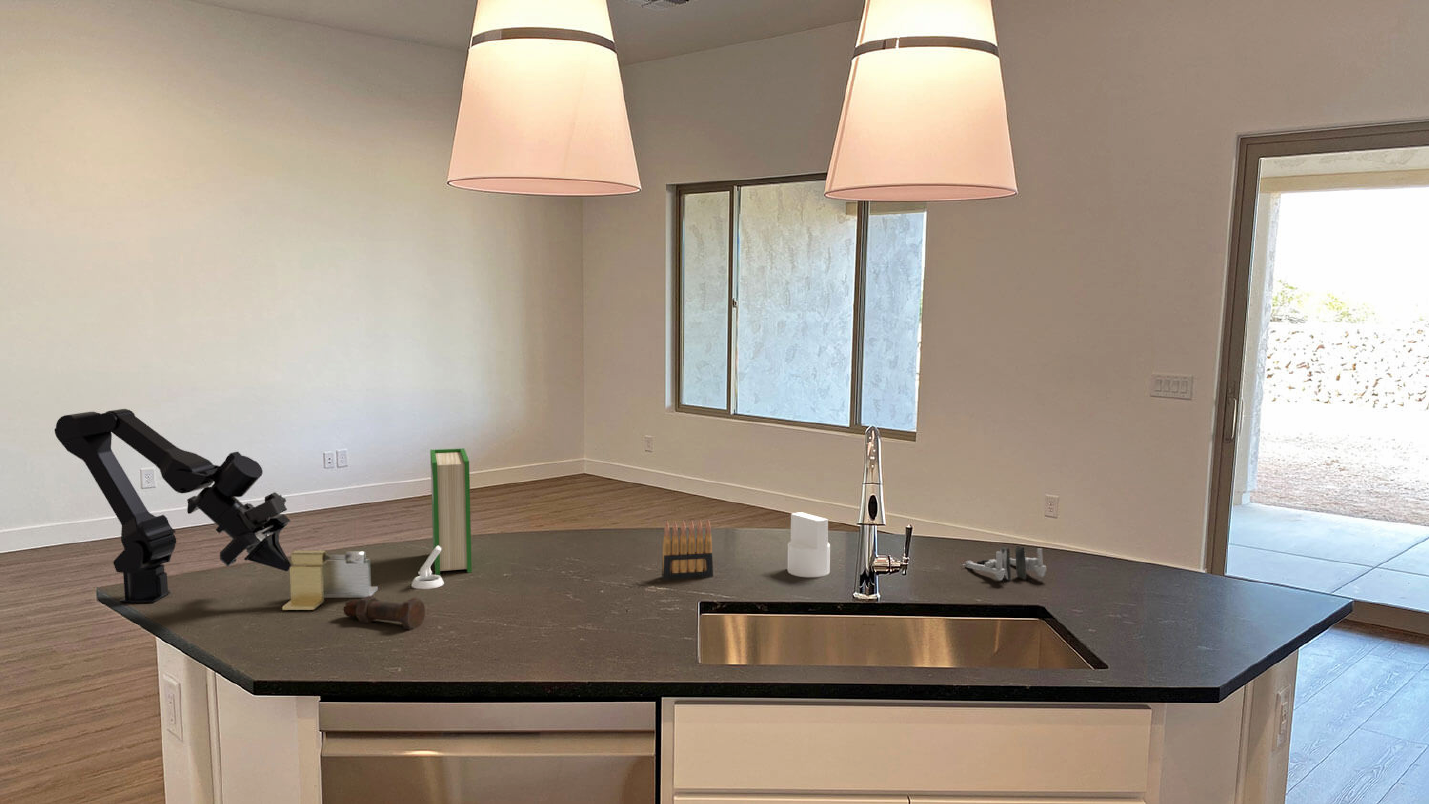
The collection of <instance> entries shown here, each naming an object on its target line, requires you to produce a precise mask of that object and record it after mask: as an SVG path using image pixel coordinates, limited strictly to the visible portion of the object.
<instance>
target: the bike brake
mask: <svg viewBox="0 0 1429 804" xmlns="http://www.w3.org/2000/svg"><path fill="white" fill-rule="evenodd" d="M1025 549H1026V548H1025V547H1023V546H1019V545H1017V546H1016V547H1015V550H1014V551H1015V558H1012V557H1010V556H1011V555H1010V549H1009V547H1003V546H1002V547H1001V548H1000V551H996V552H995V557H996V558H993V559H988V560H987V559H983V560H979V561H976V563H975V562H973V561H972V560H967V561H965V563H964V564H961V566H965V567H966V568H967V569H972V570H976V571H983V572H987V573H991V574H993V575H994V576H995V579H997V581H1003V580H1006V581H1008V582H1009V581H1011V577H1012V573H1011V571H1012V570H1011V565H1015V567H1016V576H1017V578H1019V579H1021V580H1024V581H1025V580H1026V579H1027V570H1029V571H1034V572H1036V575H1037V576H1038V577H1039V578H1044V576H1045V575H1046V572H1047V566H1046V565H1044V562H1043V561H1044V559H1043V558H1044V557H1043V548H1037V549H1036V555H1037V556H1036V557H1026V550H1025Z"/></svg>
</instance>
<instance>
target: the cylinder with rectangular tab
mask: <svg viewBox="0 0 1429 804" xmlns="http://www.w3.org/2000/svg"><path fill="white" fill-rule="evenodd" d="M828 536H829V519H827V518H825V517H822V516H817V515H813V514H809V513H806V512H803V511H800V512H799V511H798V512H793V513H790V541H788V543H787V573H788V574H790V575H792V576H795V577H801V578H819V577H825V576H828V575H829V574H830V571H831V569H830V568H831V565H830V564H831V563H830V561H831V558H830V557H831V544H830V543H829V541H828V539H829V537H828Z"/></svg>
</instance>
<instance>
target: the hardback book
mask: <svg viewBox="0 0 1429 804" xmlns="http://www.w3.org/2000/svg"><path fill="white" fill-rule="evenodd" d="M429 454H430V479H431V480H430V481H431V482H430V485H431V489H430V490H431V520H432V521H431V524H432V525H431V526H432V551H433V550H434V549H435V548H436V546H438V545H439V546H440V547H441V552H440V553H439V555H438V556H437V557H436V559H435V560H434V562H433V564H434V572H435V574H434V575H439V576H441V572H445V571H457V570H459V571H460V570H466V573H472V571H473V570H472V568H473V567H472V566H473V565H472V531H471V528H472V527H471V526H472V525H471V524H472V523H471V522H472V521H471V489H470V488H471V486H470V485H471V484H470V479H471V478H470V477H471V476H470V460H469V456H468V453H466V450H465V448H443V449H441V448H440V449H430V453H429Z"/></svg>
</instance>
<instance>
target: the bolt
mask: <svg viewBox="0 0 1429 804" xmlns="http://www.w3.org/2000/svg"><path fill="white" fill-rule="evenodd" d="M425 607H426V606H425V604H424V602H423V600H421V598H420V597H412V598H410V599H407V600H406V601H403V603H396V602H386V601H379V599H378V598H377V597H376V596H374V595H371V596H367V597H361V598H360V599H357V598H356V599H355V598H352V599H348V600H347V601H345V602H344V606H343V610H342V611H343V613H344V614H345V616H347V617H350V618H357V619H358V620H359V622H360V623H365V624H369V623H372V622H374V621H377V620H379V621H388V622H397V623H398V622H399V623H401V624H402V627H403V629H404V630H410V631H411V630H414V629H417V628H419V627H420V626H422V624H423V622H424V620H425V617H426V608H425Z"/></svg>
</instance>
